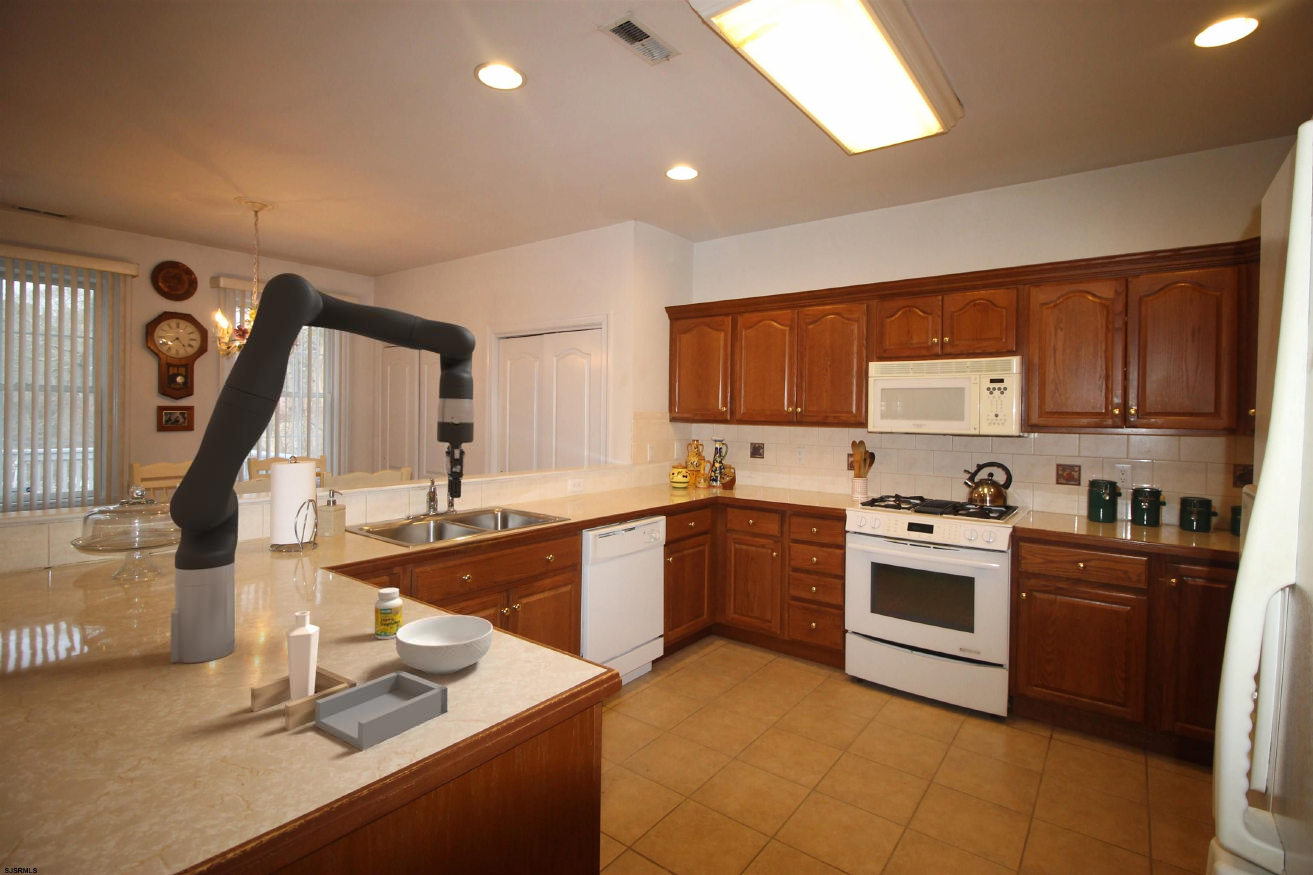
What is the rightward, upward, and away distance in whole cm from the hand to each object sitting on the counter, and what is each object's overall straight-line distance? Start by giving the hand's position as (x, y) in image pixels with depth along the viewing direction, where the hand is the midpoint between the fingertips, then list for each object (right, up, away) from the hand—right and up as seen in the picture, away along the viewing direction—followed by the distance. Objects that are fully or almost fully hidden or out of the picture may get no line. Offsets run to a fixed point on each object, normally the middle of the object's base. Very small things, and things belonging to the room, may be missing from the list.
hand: (454, 495), depth 134 cm
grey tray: (+2, -30, -40) cm, 50 cm away
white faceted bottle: (-12, -30, -37) cm, 49 cm away
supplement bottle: (-12, -29, -4) cm, 32 cm away
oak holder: (-12, -30, -37) cm, 49 cm away
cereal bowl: (+5, -30, -20) cm, 36 cm away
